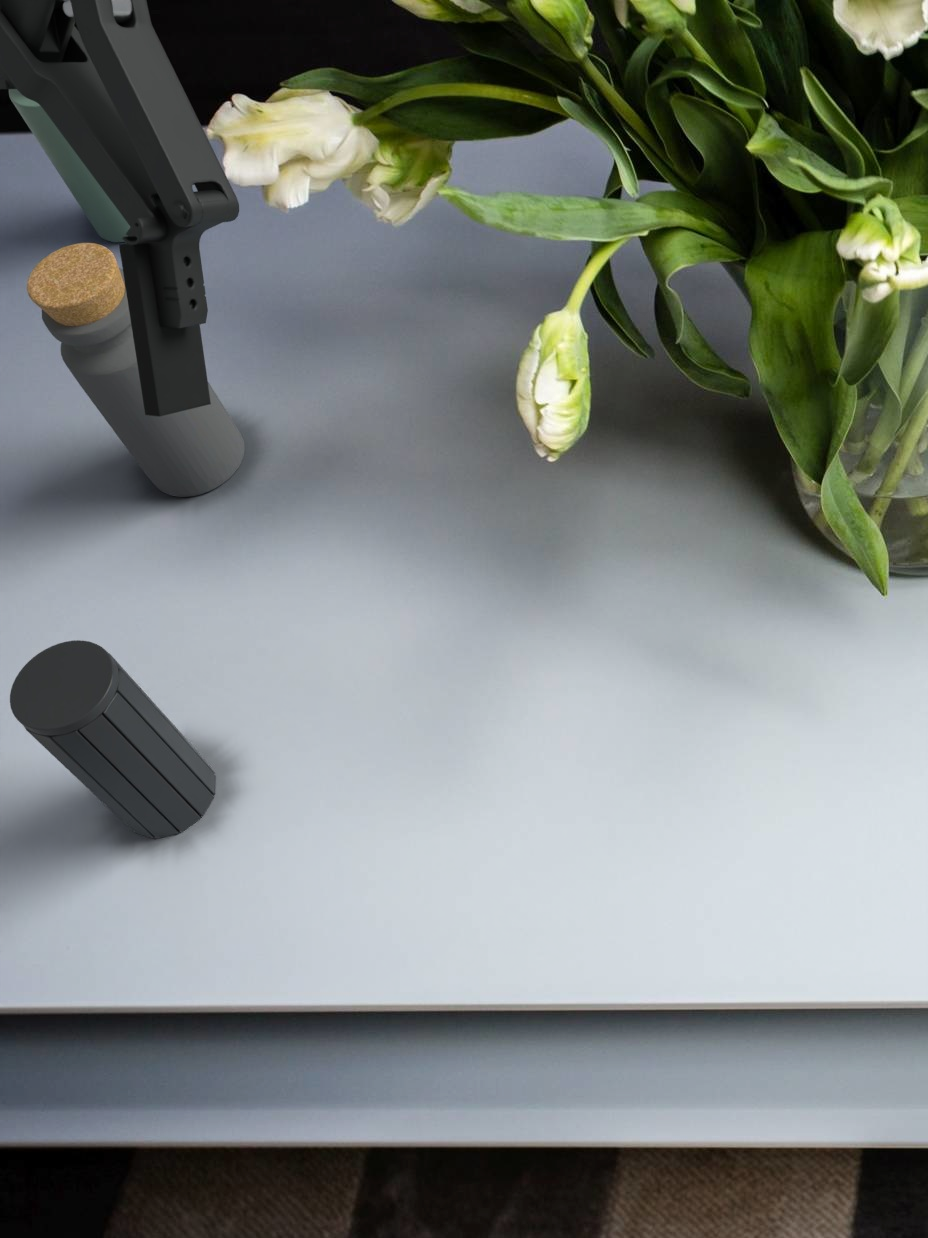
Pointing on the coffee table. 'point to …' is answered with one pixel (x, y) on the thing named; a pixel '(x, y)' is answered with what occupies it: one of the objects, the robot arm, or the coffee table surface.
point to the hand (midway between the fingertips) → (53, 397)
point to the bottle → (128, 373)
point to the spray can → (72, 171)
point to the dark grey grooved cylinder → (113, 738)
